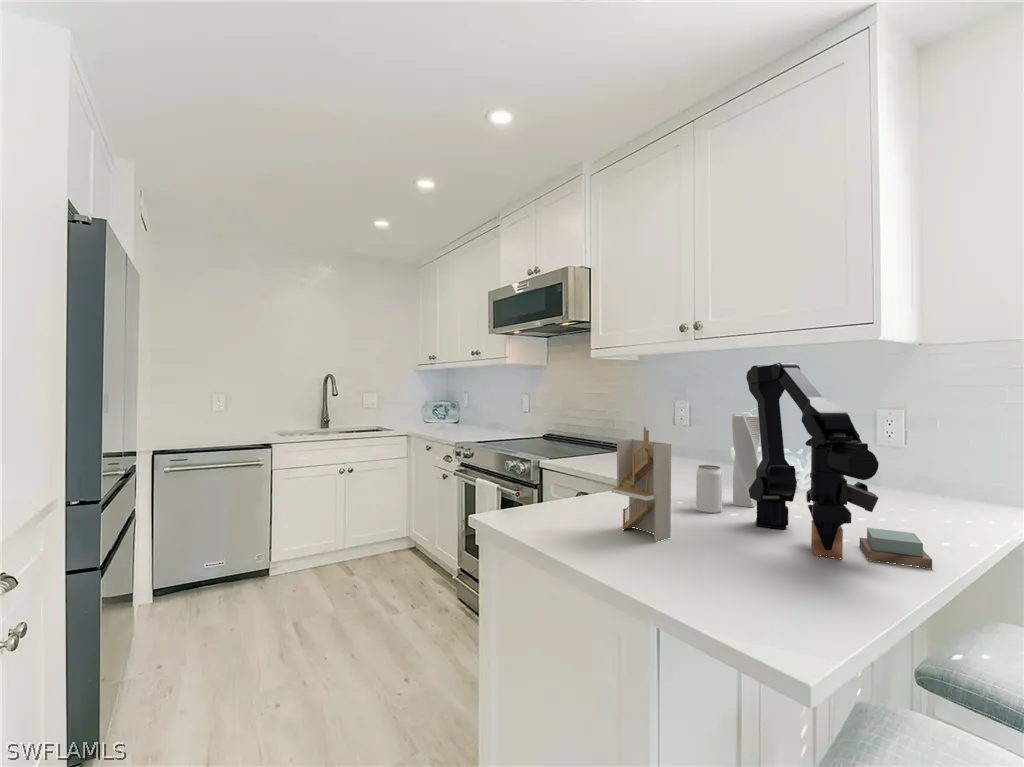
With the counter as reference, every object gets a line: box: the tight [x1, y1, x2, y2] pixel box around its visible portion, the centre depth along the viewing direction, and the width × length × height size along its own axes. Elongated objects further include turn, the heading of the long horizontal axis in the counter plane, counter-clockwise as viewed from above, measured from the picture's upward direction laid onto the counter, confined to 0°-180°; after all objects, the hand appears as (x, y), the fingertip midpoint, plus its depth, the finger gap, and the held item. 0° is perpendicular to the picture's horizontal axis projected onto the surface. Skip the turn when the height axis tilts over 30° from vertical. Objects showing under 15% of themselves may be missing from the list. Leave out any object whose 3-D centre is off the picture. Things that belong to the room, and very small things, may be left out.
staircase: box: [611, 426, 672, 543], centre depth 117 cm, size 8×12×26 cm
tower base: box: [859, 537, 933, 570], centre depth 103 cm, size 10×10×2 cm
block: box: [810, 519, 844, 560], centre depth 105 cm, size 5×5×6 cm
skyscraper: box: [731, 406, 760, 509], centre depth 146 cm, size 8×8×28 cm
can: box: [695, 464, 723, 514], centre depth 139 cm, size 6×6×12 cm
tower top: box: [866, 527, 924, 557], centre depth 103 cm, size 8×8×2 cm
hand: (826, 546), depth 105 cm, fingers closed on block, 5 cm apart
